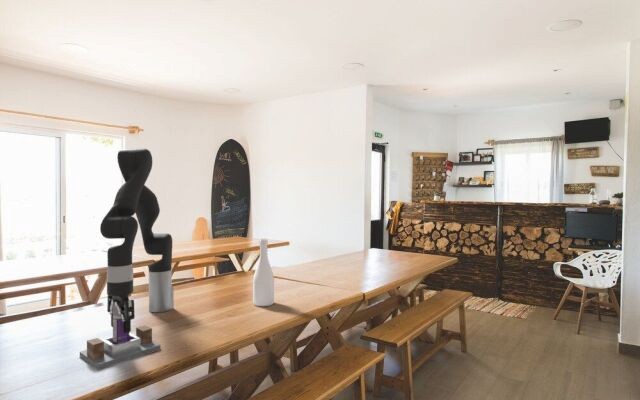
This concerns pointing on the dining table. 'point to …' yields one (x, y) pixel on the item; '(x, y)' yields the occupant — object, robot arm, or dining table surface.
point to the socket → (121, 345)
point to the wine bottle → (263, 279)
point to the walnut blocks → (97, 346)
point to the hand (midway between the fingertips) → (120, 329)
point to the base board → (119, 355)
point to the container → (118, 327)
